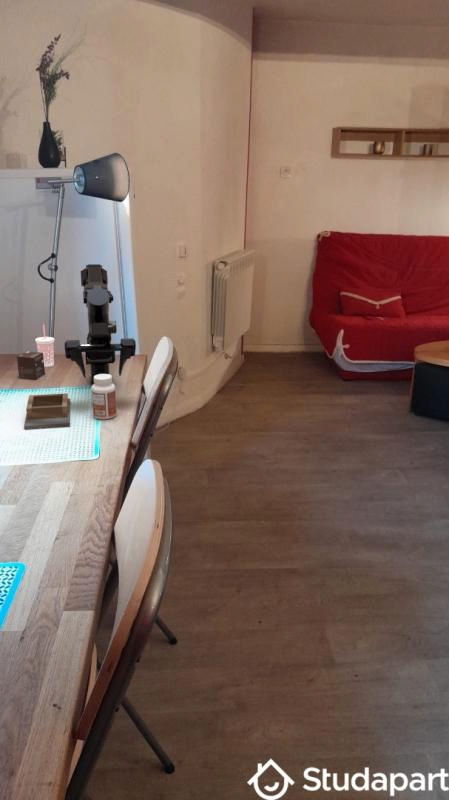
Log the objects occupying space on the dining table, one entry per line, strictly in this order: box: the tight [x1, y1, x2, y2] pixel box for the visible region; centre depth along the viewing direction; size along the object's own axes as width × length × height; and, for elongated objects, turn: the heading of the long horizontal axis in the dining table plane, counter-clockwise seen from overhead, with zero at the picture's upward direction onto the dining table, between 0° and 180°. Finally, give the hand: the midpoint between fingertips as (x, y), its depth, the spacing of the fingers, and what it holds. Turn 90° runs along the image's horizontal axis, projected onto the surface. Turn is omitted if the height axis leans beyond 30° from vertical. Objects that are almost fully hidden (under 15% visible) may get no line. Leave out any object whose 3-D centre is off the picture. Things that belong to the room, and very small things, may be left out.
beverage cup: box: [35, 323, 55, 368], centre depth 188 cm, size 6×6×14 cm
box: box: [16, 351, 46, 380], centre depth 178 cm, size 6×6×7 cm
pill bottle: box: [90, 373, 117, 420], centre depth 148 cm, size 6×6×11 cm
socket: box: [23, 392, 71, 431], centre depth 149 cm, size 18×11×4 cm, turn 14°
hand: (102, 376), depth 150 cm, fingers open, 9 cm apart
